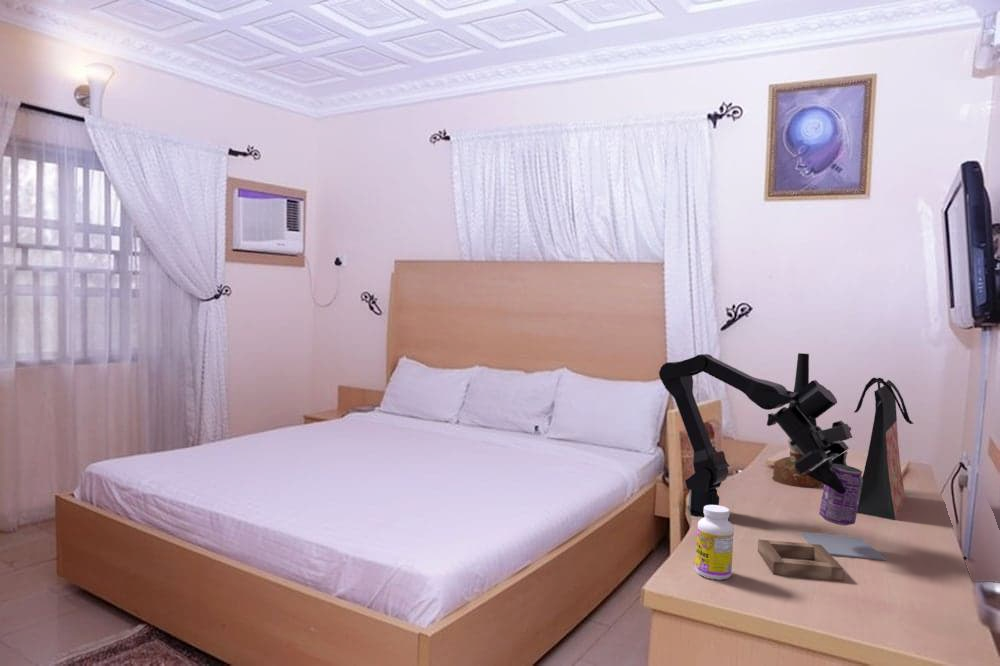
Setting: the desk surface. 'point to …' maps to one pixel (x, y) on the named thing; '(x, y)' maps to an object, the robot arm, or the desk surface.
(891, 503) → the gift bag
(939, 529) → the desk surface
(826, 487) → the beverage can
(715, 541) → the supplement bottle
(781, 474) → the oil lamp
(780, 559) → the walnut collar
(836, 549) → the grey pad
